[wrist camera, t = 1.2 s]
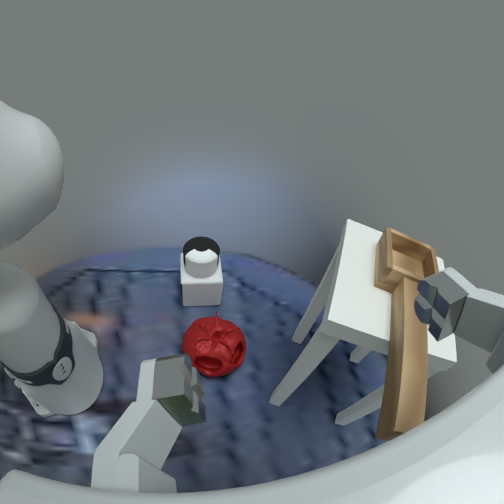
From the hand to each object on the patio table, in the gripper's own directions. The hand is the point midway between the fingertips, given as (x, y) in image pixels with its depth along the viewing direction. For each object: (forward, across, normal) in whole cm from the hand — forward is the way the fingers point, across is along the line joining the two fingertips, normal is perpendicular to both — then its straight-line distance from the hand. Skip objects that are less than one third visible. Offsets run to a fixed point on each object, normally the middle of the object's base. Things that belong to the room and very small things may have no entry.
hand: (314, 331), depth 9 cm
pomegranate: (+26, +10, +28) cm, 40 cm away
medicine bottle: (+39, +11, +24) cm, 47 cm away
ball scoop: (+7, -10, +12) cm, 17 cm away
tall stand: (+20, -6, +35) cm, 41 cm away
